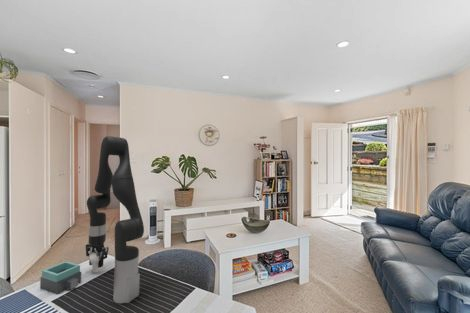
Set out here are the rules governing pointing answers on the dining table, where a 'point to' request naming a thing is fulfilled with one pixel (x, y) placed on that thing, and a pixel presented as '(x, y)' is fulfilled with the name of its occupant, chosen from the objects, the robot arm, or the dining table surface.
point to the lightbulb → (94, 262)
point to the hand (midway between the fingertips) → (96, 265)
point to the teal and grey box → (60, 277)
